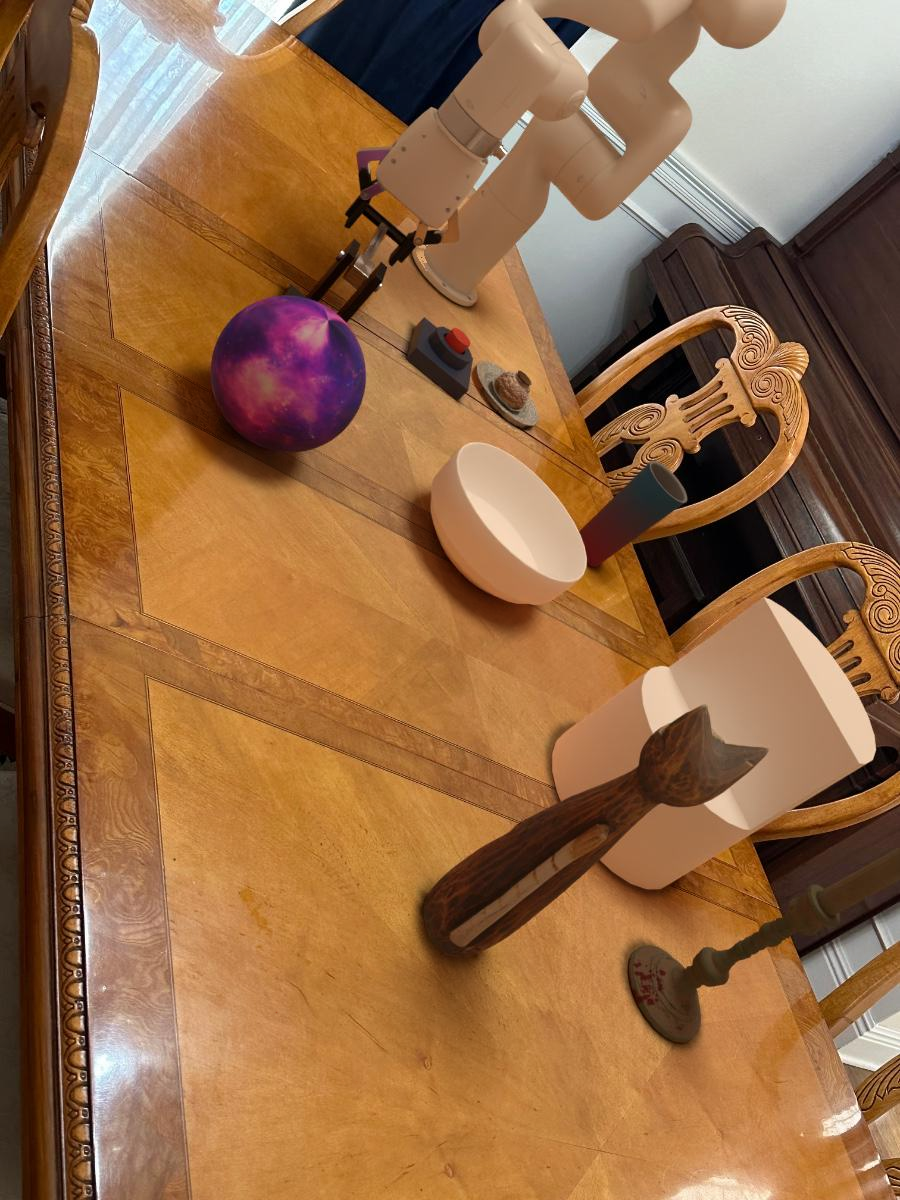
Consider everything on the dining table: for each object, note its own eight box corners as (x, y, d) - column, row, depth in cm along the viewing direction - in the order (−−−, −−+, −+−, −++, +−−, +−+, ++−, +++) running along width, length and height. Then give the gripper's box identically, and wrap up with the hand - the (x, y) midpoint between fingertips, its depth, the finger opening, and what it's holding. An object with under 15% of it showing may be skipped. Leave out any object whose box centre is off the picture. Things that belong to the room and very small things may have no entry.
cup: (602, 552, 158) (685, 483, 151) (603, 581, 153) (689, 511, 145) (566, 523, 156) (648, 451, 149) (566, 551, 151) (651, 479, 143)
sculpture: (500, 930, 97) (784, 745, 82) (452, 985, 90) (756, 792, 75) (450, 864, 98) (723, 669, 83) (398, 913, 90) (688, 708, 76)
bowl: (553, 586, 142) (603, 544, 138) (508, 653, 125) (562, 608, 121) (443, 468, 141) (489, 423, 137) (381, 520, 124) (432, 470, 120)
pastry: (462, 378, 162) (484, 355, 159) (485, 358, 172) (506, 336, 170) (522, 440, 163) (544, 418, 160) (541, 416, 173) (563, 395, 171)
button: (445, 332, 157) (453, 323, 157) (462, 347, 159) (471, 339, 158) (443, 342, 155) (451, 333, 154) (461, 358, 156) (469, 349, 155)
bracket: (285, 290, 141) (344, 218, 135) (343, 337, 144) (403, 269, 138) (268, 324, 133) (330, 249, 127) (330, 373, 136) (393, 302, 130)
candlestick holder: (620, 934, 108) (890, 773, 93) (685, 963, 113) (953, 813, 98) (637, 1028, 102) (930, 870, 87) (705, 1055, 106) (995, 909, 91)
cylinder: (640, 744, 133) (816, 620, 121) (702, 896, 122) (903, 777, 110) (530, 715, 121) (714, 574, 108) (588, 881, 110) (800, 746, 98)
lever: (361, 211, 140) (372, 198, 139) (399, 244, 142) (410, 232, 141) (328, 266, 133) (340, 254, 131) (369, 300, 135) (381, 288, 133)
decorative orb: (156, 360, 114) (242, 248, 106) (265, 376, 126) (349, 277, 118) (223, 480, 109) (318, 372, 102) (329, 485, 121) (421, 389, 114)
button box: (414, 327, 161) (432, 307, 159) (463, 368, 164) (482, 349, 162) (406, 358, 153) (425, 337, 151) (457, 401, 156) (477, 381, 154)
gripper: (523, 170, 139) (426, 278, 147) (412, 65, 133) (317, 184, 141) (522, 189, 133) (420, 301, 141) (405, 81, 127) (307, 204, 135)
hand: (370, 241), depth 141 cm, fingers closed on lever, 6 cm apart
